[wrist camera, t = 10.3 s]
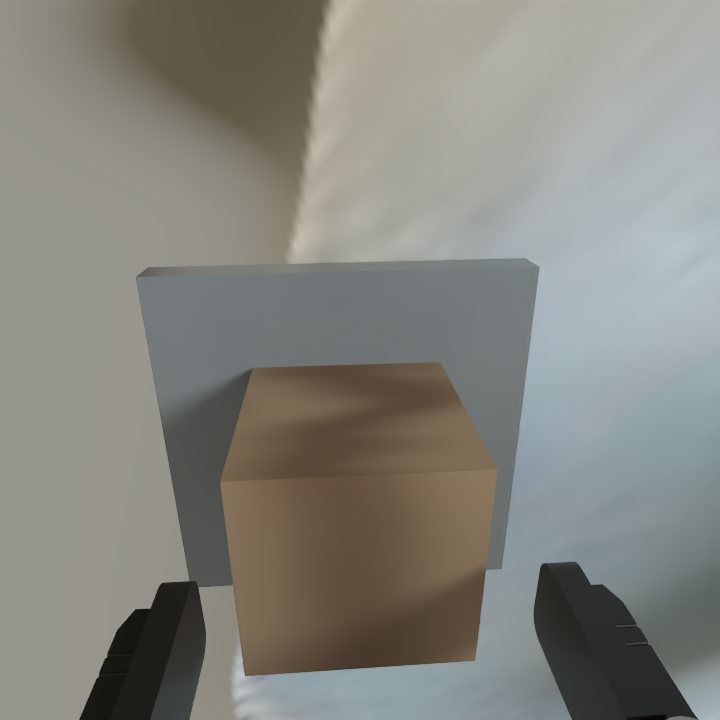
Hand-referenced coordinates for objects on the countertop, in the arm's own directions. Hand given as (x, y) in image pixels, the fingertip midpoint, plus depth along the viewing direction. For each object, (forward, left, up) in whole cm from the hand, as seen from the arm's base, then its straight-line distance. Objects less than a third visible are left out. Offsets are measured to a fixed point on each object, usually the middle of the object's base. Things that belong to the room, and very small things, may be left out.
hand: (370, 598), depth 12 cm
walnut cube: (0, 0, -6) cm, 6 cm away
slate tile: (0, 0, -8) cm, 8 cm away
